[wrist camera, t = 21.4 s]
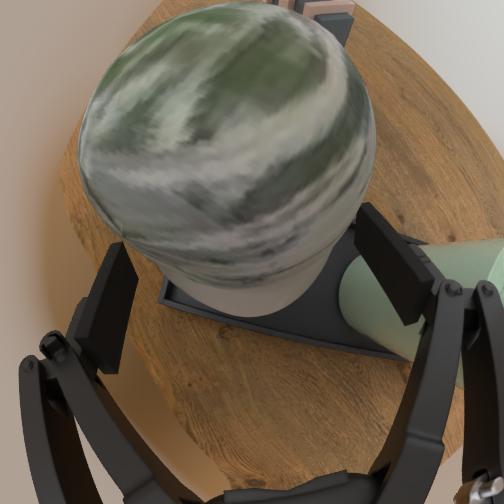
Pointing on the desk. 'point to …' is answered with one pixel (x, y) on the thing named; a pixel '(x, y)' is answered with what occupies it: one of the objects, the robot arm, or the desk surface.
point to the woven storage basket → (324, 14)
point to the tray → (301, 308)
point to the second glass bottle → (407, 337)
